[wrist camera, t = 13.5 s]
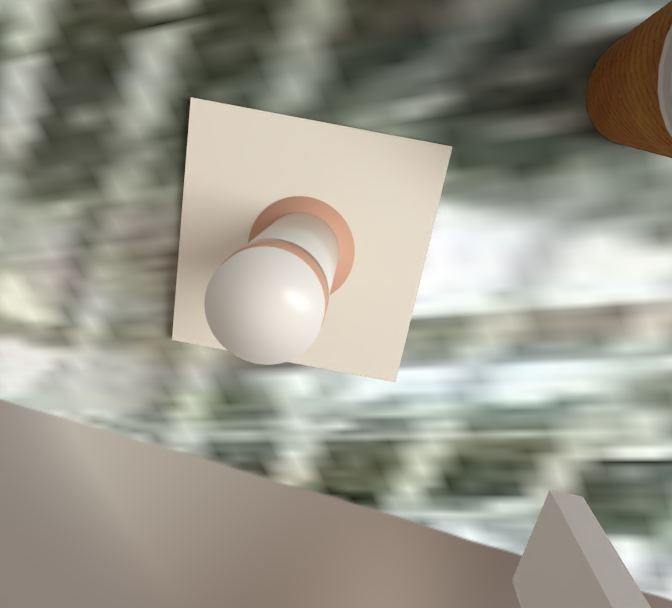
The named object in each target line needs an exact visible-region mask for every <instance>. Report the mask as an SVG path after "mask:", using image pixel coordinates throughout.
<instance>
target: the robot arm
mask: <svg viewBox="0 0 672 608" xmlns="http://www.w3.org/2000/svg"><path fill="white" fill-rule="evenodd" d="M512 581H513V585H514V587H515V591H516V594H517V597H518V600H519V602H520V606H521V608H651V607H650V606H649V604H648V603H647V601H646V599H645V598H644V596H643V594H642V593H641V591H640V589H639V588H638V586H637V584H636V583H635V581H634V580H633V578H632V576H631V575H630V573H629V571H628V570H627V568H626V566H625V565H624V563H623V562H622V560H621V558H620V557H619V555H618V553H617V552H616V550H615V549H614V547H613V545H612V544H611V542H610V540H609V539H608V537H607V536H606V534H605V532H604V531H603V529H602V527H601V526H600V524H599V522H598V521H597V519H596V518H595V516H594V514H593V513H592V511H591V509H590V508H589V506H588V505H587V503H586V501H585V500H584V498H583V497H582V496H577V495H572V494H567V493H563V492H558V491H553V490H550V491H549V493H548V496H547V498H546V500H545V503H544V505H543V508H542V510H541V512H540V515H539V517H538V520H537V522H536V524H535V527H534V529H533V532H532V534H531V536H530V539H529V541H528V544H527V546H526V548H525V551H524V553H523V556H522V558H521V560H520V563H519V565H518V568H517V570H516V572H515V575H514V577H513V580H512Z"/></svg>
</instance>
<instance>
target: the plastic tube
mask: <svg viewBox="0 0 672 608" xmlns="http://www.w3.org/2000/svg"><path fill="white" fill-rule="evenodd" d="M338 259H339V244H338V240H337V237H336V235H335V233H334V231H333V230H332V228H331V227H330V226H329V225H328V224H327V223H326V222H325V221H324V220H322V219H321V218H319V217H317V216H315V215H313V214H309V213H303V212H296V213H291V214H287V215H285V216H283V217H281V218H279V219H278V220H276V221H275V222H274V223H273V224H271V225H270V226H269V227H268V228H266V229H265V230H264V231H263V232H261V233H260V234H259V235H258V236H256V237H255V238H254V239H253V240H251V241H250V242H249V243H248V244H246V245H244V246H243V247H241V248H240V249H238V250H237V251H236V252H235V253H233V254H232V255H231V256H230V257H228V258H227V259H226V260H225V261H224V262H223V263H222V264H221V265H220V267H219V268H218V269H217V270H216V271H215V272H214V274H213V275H212V277H211V279H210V281H209V283H208V285H207V289H206V292H205V298H204V308H205V315H206V319H207V322H208V325H209V327H210V329H211V331H212V333H213V335H214V336H215V337H216V339H217V340H218V341H219V343H220V344H221V345H222V346H223V347H224V348H226V349H227V350H228V351H229V352H231V353H232V354H234V355H235V356H237V357H239V358H241V359H243V360H246V361H249V362H252V363H257V364H279V363H283V362H287V361H289V360H292V359H294V358H296V357H298V356H299V355H301V354H302V353H303V352H305V351H306V350H307V349H308V348H309V347H310V346H311V345H312V343H313V342H314V341H315V339H316V337H317V336H318V334H319V331H320V329H321V327H322V324H323V322H324V318H325V314H326V310H327V306H328V301H329V294H330V290H331V286H332V283H333V279H334V275H335V271H336V267H337V263H338Z"/></svg>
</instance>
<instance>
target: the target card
mask: <svg viewBox="0 0 672 608" xmlns="http://www.w3.org/2000/svg"><path fill="white" fill-rule="evenodd" d="M451 151H452V146H447V145H441V144H436V143H431V142H425V141H420V140H415V139H409V138H404V137H399V136H393V135H388V134H383V133H377V132H372V131H367V130H362V129H356V128H351V127H346V126H340V125H335V124H330V123H324V122H319V121H314V120H308V119H303V118H298V117H292V116H287V115H282V114H276V113H271V112H266V111H260V110H255V109H250V108H245V107H239V106H234V105H229V104H223V103H218V102H213V101H207V100H202V99H197V98H191V101H190V114H189V127H188V139H187V152H186V165H185V178H184V191H183V204H182V217H181V230H180V243H179V256H178V269H177V282H176V295H175V308H174V321H173V333H172V340H175V341H181V342H186V343H191V344H196V345H202V346H207V347H212V348H218V349H223V350H227V349H226V348H224V347H223V346H222V345H221V344H220V343H219V341H218V340H217V339H216V337H215V336H214V335H213V333H212V331H211V329H210V327H209V325H208V322H207V319H206V315H205V308H204V298H205V292H206V289H207V285H208V283H209V281H210V279H211V277H212V275H213V274H214V272H215V271H216V270H217V269H218V268H219V267H220V265H221V264H222V263H223V262H224V261H225V260H226V259H227V258H228V257H230V256H231V255H232V254H233V253H235V252H236V251H237V250H238V249H240V248H241V247H243V246H244V245H246V244H248V243H249V242H250V241H251V240H253V239H254V238H255V237H256V236H258V235H259V234H260V233H261V232H263V231H264V230H265V229H266V228H268V227H269V226H270V225H271V224H273V223H274V222H275V221H276V220H278V219H279V218H281V217H283V216H285V215H287V214H291V213H296V212H303V213H309V214H313V215H315V216H317V217H319V218H321V219H322V220H324V221H325V222H326V223H327V224H328V225H329V226H330V227H331V228H332V230H333V231H334V233H335V235H336V237H337V240H338V244H339V259H338V263H337V267H336V271H335V275H334V279H333V283H332V286H331V290H330V294H329V301H328V306H327V310H326V314H325V318H324V322H323V324H322V327H321V329H320V331H319V334H318V336H317V337H316V339H315V341H314V342H313V343H312V345H311V346H310V347H309V348H308V349H307V350H306V351H305V352H303V353H302V354H301V355H299V356H298V357H296V358H294V359H292V360H289V361H287V362H291V363H297V364H302V365H307V366H312V367H318V368H323V369H328V370H333V371H339V372H344V373H349V374H355V375H360V376H365V377H370V378H376V379H381V380H386V381H391V382H396V378H397V374H398V370H399V366H400V362H401V357H402V353H403V349H404V345H405V341H406V337H407V333H408V329H409V324H410V320H411V316H412V312H413V308H414V304H415V300H416V296H417V291H418V287H419V283H420V279H421V275H422V271H423V267H424V262H425V258H426V254H427V250H428V246H429V242H430V238H431V234H432V229H433V225H434V221H435V217H436V213H437V209H438V205H439V201H440V196H441V192H442V188H443V184H444V180H445V176H446V172H447V167H448V163H449V159H450V155H451Z"/></svg>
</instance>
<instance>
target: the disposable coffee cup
mask: <svg viewBox="0 0 672 608" xmlns="http://www.w3.org/2000/svg"><path fill="white" fill-rule="evenodd" d="M586 102H587V109H588V113H589V116H590V118H591V121H592V123H593V125H594V126H595V128H596V129H597V130H598V131H599V132H600V133H601V134H602V135H603V136H604V137H605V138H607V139H608V140H610V141H612V142H614V143H617V144H620V145H625V146H629V147H633V148H636V149H640V150H644V151H648V152H652V153H655V154H659V155H663V156H667V157H671V158H672V1H671V2H669V3H668V4H667V5H665V6H664V7H663V8H661V9H660V10H659V11H657V12H656V13H654V14H653V15H652V16H650V17H649V18H648V19H646V20H645V21H644V22H642V23H641V24H640V25H638V26H637V27H635V28H634V29H633V30H631V31H630V32H629V33H627V34H626V35H625V36H623V37H622V38H620V39H619V40H617V41H616V42H615V43H614V44H613V45H611V46H610V47H609V48H608V49H607V50H606V51H605V52H604V53H603V54H602V56H601V57H600V59H599V60H598V62H597V63H596V65H595V67H594V69H593V71H592V73H591V75H590V79H589V83H588V87H587V96H586Z"/></svg>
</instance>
